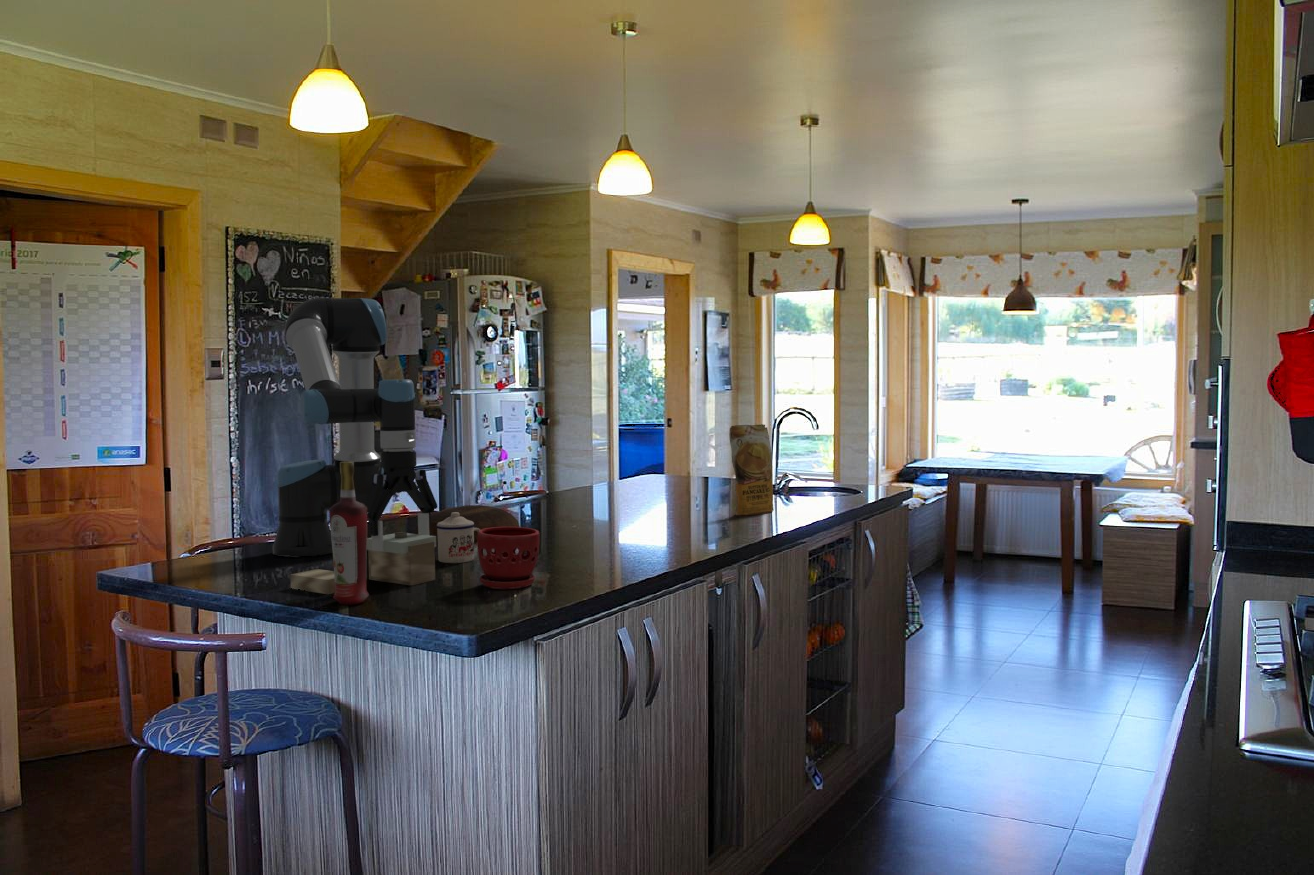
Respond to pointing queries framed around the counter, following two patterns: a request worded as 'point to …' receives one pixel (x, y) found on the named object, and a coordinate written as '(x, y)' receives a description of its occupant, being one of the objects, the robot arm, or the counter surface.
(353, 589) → the liquor
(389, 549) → the lid
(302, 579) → the stand
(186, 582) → the counter surface
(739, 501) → the pancake mix bag
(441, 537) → the teacup with lid
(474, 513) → the bread
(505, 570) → the plant pot
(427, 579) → the wooden box
